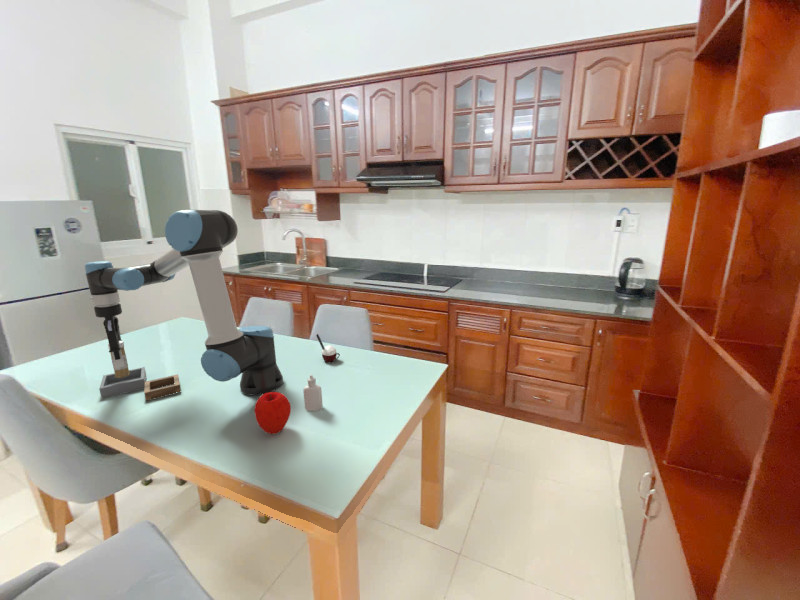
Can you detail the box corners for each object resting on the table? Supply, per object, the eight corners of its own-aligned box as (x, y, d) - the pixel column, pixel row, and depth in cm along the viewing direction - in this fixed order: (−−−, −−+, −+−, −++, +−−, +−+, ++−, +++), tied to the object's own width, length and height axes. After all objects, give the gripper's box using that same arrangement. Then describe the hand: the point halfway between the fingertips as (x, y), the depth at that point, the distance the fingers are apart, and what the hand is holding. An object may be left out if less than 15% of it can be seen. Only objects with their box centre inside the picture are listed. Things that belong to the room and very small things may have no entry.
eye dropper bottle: (312, 403, 120) (309, 370, 117) (324, 407, 117) (322, 374, 115) (303, 409, 117) (299, 375, 114) (315, 413, 114) (312, 379, 111)
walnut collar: (181, 392, 130) (179, 384, 129) (145, 400, 124) (144, 393, 123) (179, 381, 138) (178, 374, 138) (146, 389, 132) (144, 381, 132)
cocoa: (341, 360, 156) (341, 334, 153) (332, 365, 151) (332, 338, 148) (324, 356, 160) (323, 330, 157) (315, 360, 155) (314, 334, 152)
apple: (296, 420, 110) (292, 384, 107) (287, 440, 101) (283, 401, 98) (263, 421, 110) (259, 385, 107) (252, 441, 101) (246, 402, 98)
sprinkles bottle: (112, 377, 133) (104, 343, 130) (125, 372, 137) (118, 339, 134) (119, 379, 131) (112, 345, 128) (133, 374, 135) (125, 341, 132)
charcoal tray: (145, 387, 133) (143, 378, 132) (101, 398, 126) (99, 388, 125) (146, 375, 144) (144, 366, 143) (105, 384, 137) (103, 375, 136)
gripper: (96, 301, 132) (110, 359, 138) (90, 311, 118) (105, 375, 124) (121, 298, 136) (133, 354, 142) (118, 307, 122) (131, 370, 128)
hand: (120, 364), depth 133 cm, fingers closed on sprinkles bottle, 4 cm apart
